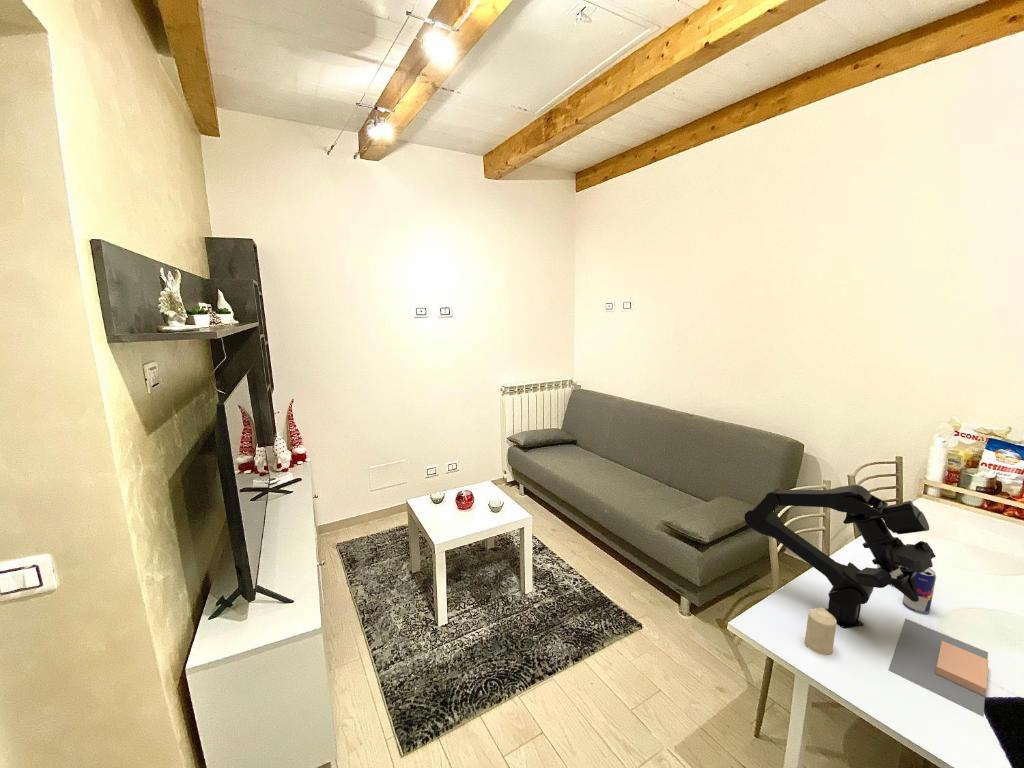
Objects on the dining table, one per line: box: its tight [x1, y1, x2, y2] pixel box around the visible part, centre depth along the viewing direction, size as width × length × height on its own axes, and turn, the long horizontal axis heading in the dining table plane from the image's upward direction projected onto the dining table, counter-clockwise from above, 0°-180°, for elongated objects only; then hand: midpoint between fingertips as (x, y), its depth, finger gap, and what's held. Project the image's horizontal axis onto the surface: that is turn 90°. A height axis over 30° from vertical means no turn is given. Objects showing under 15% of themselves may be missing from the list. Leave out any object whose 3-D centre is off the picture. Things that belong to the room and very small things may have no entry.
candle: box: [804, 607, 838, 656], centre depth 102 cm, size 6×6×10 cm
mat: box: [888, 618, 989, 718], centre depth 98 cm, size 15×24×1 cm, turn 130°
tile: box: [935, 641, 989, 697], centre depth 95 cm, size 2×11×8 cm
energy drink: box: [902, 568, 937, 615], centre depth 113 cm, size 5×5×12 cm
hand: (915, 601), depth 99 cm, fingers closed
